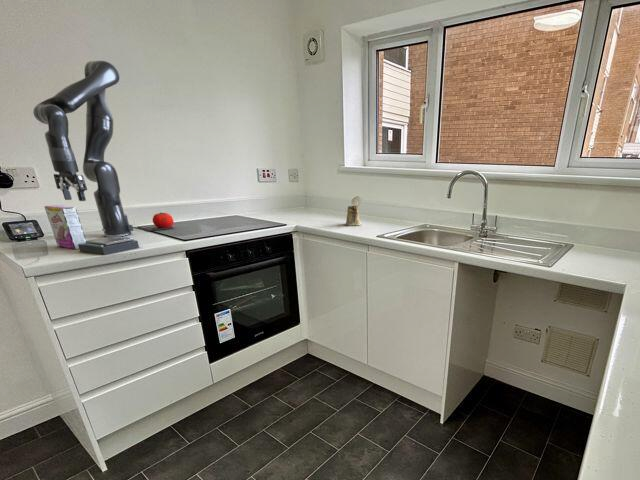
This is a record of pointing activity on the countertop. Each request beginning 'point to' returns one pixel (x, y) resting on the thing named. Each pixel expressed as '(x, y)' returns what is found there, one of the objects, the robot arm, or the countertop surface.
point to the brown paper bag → (353, 213)
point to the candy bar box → (65, 226)
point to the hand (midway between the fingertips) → (75, 200)
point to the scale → (108, 247)
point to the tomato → (163, 220)
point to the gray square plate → (109, 240)
